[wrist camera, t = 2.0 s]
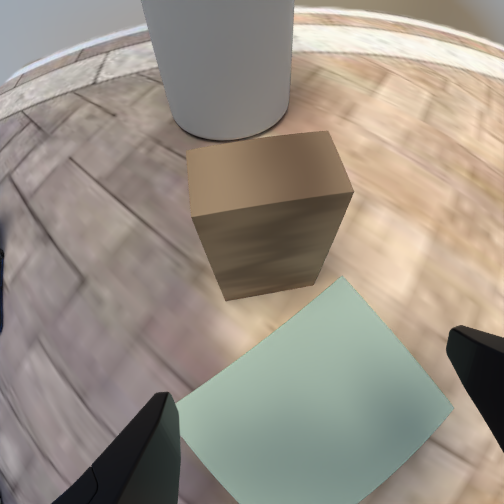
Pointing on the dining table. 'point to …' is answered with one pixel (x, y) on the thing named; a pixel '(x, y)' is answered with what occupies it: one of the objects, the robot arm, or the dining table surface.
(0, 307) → the handheld game console
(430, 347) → the dining table surface
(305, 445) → the mat
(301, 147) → the walnut slab
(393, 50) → the dining table surface
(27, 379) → the dining table surface
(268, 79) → the cylinder vase
